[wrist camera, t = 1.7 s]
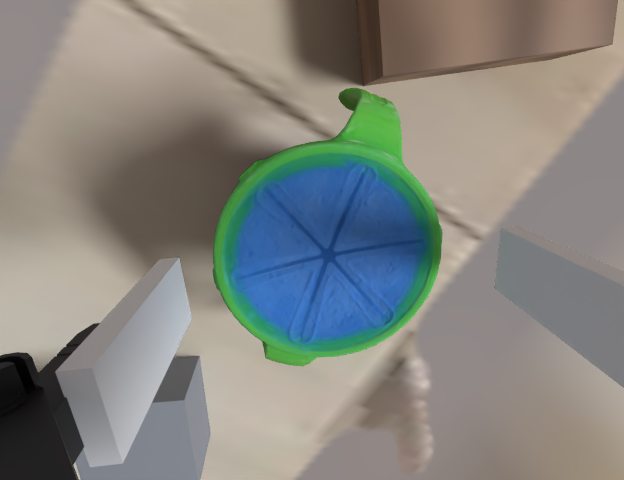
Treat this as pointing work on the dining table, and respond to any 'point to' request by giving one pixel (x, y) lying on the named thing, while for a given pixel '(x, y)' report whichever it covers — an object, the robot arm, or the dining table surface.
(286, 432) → the dining table surface
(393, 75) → the walnut block
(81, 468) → the slate block
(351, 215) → the snack cup
